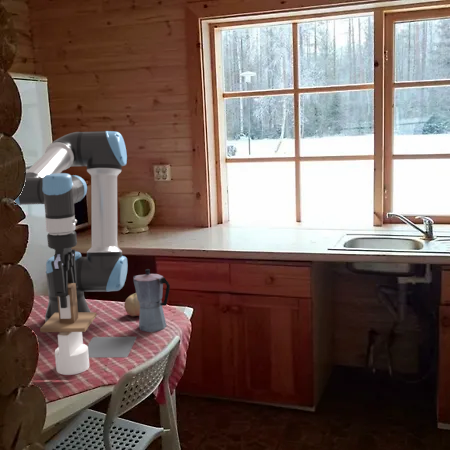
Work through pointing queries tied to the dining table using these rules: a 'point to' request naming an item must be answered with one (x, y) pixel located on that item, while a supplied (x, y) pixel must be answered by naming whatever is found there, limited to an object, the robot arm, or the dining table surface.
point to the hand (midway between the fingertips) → (68, 314)
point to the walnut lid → (77, 321)
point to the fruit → (132, 305)
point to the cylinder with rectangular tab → (71, 354)
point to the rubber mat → (110, 346)
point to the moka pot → (151, 301)
